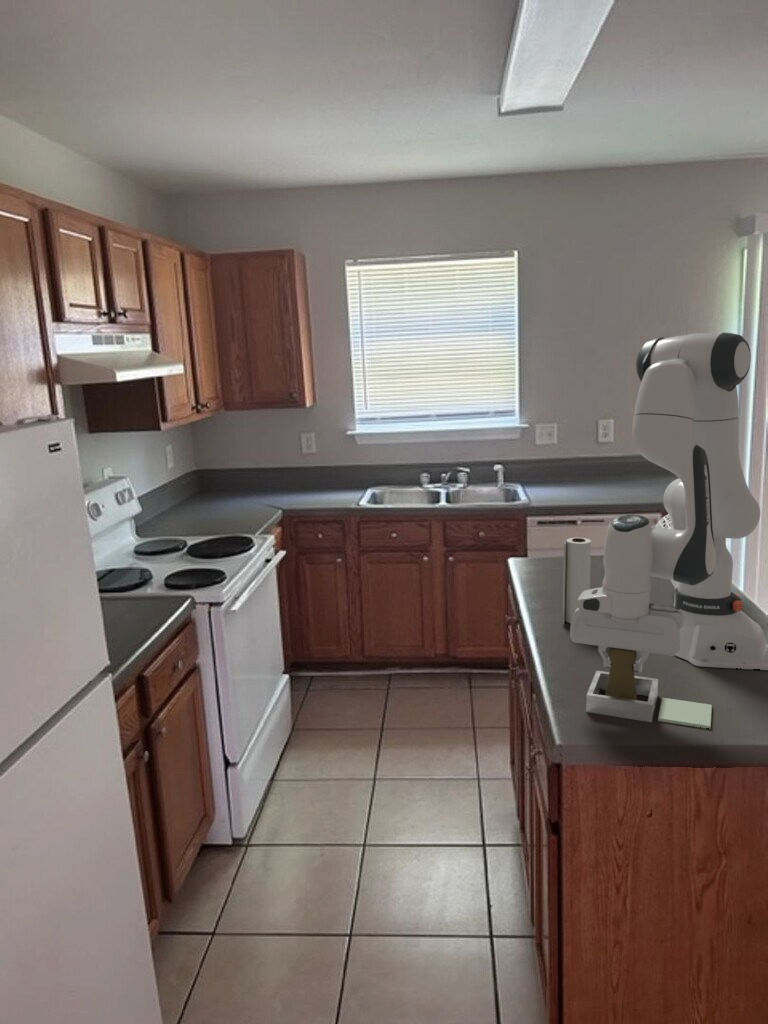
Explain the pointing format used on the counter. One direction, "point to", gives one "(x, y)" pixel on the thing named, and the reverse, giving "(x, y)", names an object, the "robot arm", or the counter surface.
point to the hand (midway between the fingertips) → (622, 668)
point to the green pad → (685, 713)
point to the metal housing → (622, 699)
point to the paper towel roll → (575, 573)
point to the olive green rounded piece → (621, 674)
